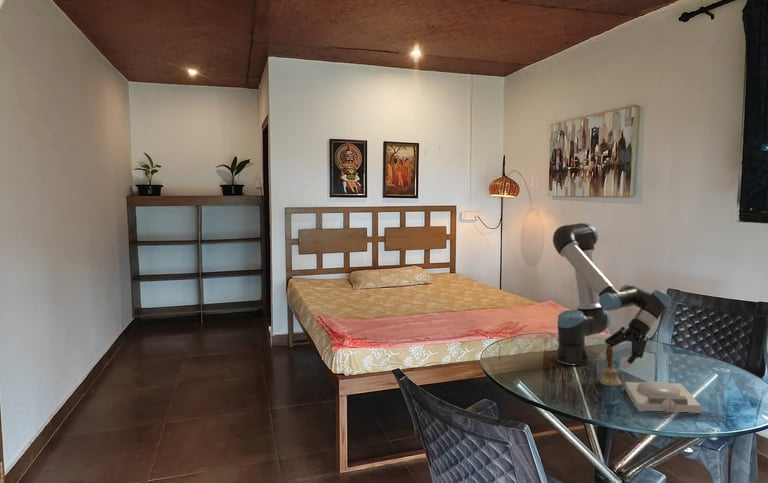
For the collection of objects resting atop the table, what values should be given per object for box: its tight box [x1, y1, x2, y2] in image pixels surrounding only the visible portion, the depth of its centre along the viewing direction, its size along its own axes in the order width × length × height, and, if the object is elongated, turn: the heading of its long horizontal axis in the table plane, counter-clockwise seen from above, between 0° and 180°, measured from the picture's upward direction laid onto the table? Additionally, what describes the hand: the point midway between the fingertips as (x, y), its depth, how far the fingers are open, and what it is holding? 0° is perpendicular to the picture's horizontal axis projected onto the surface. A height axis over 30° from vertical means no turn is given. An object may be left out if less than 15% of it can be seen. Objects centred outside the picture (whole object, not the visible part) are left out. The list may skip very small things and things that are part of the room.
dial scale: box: [624, 380, 702, 414], centre depth 180 cm, size 20×20×5 cm
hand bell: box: [599, 344, 623, 387], centre depth 200 cm, size 8×8×16 cm
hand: (611, 363), depth 199 cm, fingers open, 13 cm apart
